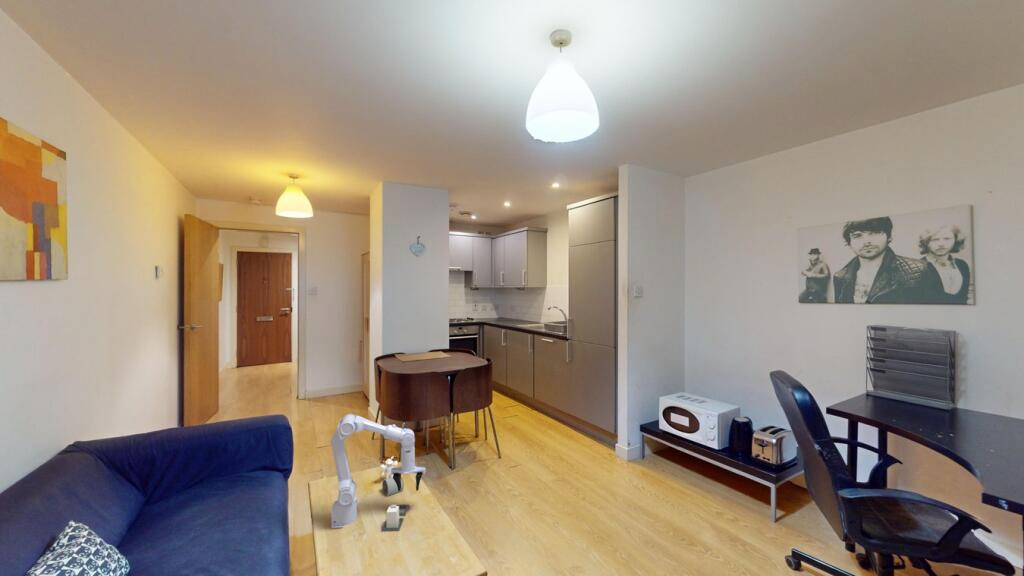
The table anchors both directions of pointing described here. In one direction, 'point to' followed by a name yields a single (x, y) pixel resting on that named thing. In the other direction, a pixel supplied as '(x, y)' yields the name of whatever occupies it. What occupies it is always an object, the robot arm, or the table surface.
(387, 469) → the blocky character figurine
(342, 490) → the robot arm
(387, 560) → the table surface
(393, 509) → the plug
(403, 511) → the panel
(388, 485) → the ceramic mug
